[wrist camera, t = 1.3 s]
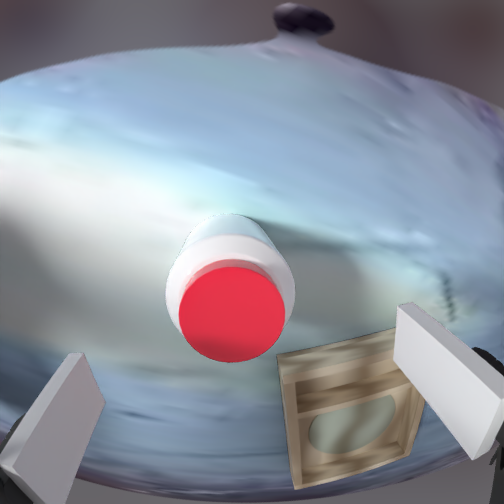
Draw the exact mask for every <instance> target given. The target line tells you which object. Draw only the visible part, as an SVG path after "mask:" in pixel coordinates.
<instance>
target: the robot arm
mask: <svg viewBox="0 0 504 504" xmlns="http://www.w3.org/2000/svg"><path fill="white" fill-rule="evenodd" d="M393 361H394V362H395V363H396V364H397V365H398V367H399V368H400V369H401V370H402V372H403V373H404V374H405V375H406V376H407V378H408V379H409V380H410V381H411V383H412V384H413V385H414V386H415V388H416V389H417V390H418V391H419V393H420V394H421V395H422V396H423V398H424V399H425V400H426V401H427V403H428V404H429V405H430V406H431V408H432V409H433V410H434V411H435V413H436V414H437V415H438V416H439V418H440V419H441V420H442V422H443V423H444V424H445V425H446V427H447V428H448V429H449V431H450V432H451V433H452V434H453V436H454V437H455V438H456V440H457V441H458V442H459V444H460V445H461V446H462V448H463V449H464V450H465V451H466V453H467V454H468V455H469V457H470V458H471V459H472V460H474V459H476V458H478V457H479V456H481V455H483V454H484V453H486V452H488V451H489V450H490V448H491V446H492V444H493V442H494V440H495V439H496V440H497V441H498V442H499V443H500V445H499V447H498V448H497V450H496V452H495V454H494V456H493V458H492V459H491V461H490V464H489V465H492V464H493V462H494V460H495V459H496V466H495V474H494V481H493V487H492V493H491V498H490V503H489V504H504V366H503V364H502V363H501V362H500V361H498V360H496V358H495V357H493V356H492V355H491V354H490V353H489V352H487V351H485V350H482V349H480V348H477V347H474V348H472V349H471V348H470V347H468V346H467V345H466V344H465V343H464V342H462V341H461V340H460V339H459V338H457V337H456V336H455V335H454V334H452V333H451V332H450V331H449V330H447V329H446V328H445V327H444V326H442V325H441V324H440V323H439V322H437V321H436V320H435V319H434V318H432V317H431V316H430V315H429V314H427V313H426V312H425V311H423V310H422V309H421V308H420V307H418V306H417V305H416V304H414V303H413V302H410V303H406V304H402V305H398V306H397V319H396V333H395V345H394V356H393ZM105 403H106V402H105V400H104V398H103V396H102V394H101V392H100V389H99V387H98V385H97V383H96V381H95V378H94V376H93V374H92V372H91V369H90V367H89V365H88V362H87V360H86V357H85V355H84V353H69V354H68V356H67V357H66V358H65V360H64V361H63V362H62V364H61V365H60V366H59V368H58V369H57V370H56V372H55V373H54V375H53V376H52V377H51V379H50V380H49V382H48V383H47V384H46V386H45V387H44V389H43V390H42V391H41V393H40V394H39V396H38V397H37V399H36V400H35V402H34V403H33V404H32V406H31V407H30V409H29V410H28V412H27V413H26V414H24V415H23V416H21V417H20V418H19V419H18V420H17V421H16V422H15V423H14V425H13V426H12V428H11V429H10V432H8V434H7V435H6V439H4V440H3V442H2V443H1V445H0V504H33V503H34V504H65V502H66V499H67V496H68V493H69V491H70V488H71V486H72V483H73V480H74V478H75V475H76V472H77V470H78V467H79V465H80V462H81V460H82V457H83V455H84V452H85V450H86V447H87V445H88V442H89V440H90V438H91V435H92V433H93V431H94V428H95V426H96V423H97V421H98V419H99V417H100V414H101V412H102V410H103V407H104V405H105Z"/></svg>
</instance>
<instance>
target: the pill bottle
mask: <svg viewBox="0 0 504 504" xmlns="http://www.w3.org/2000/svg"><path fill="white" fill-rule="evenodd" d="M165 297H166V306H167V309H168V312H169V315H170V318H171V319H172V321H173V323H174V325H175V327H176V328H177V329H178V330H179V331H180V333H181V334H182V335H183V336H184V337H185V338H186V340H187V342H188V343H189V344H190V345H191V346H192V347H193V348H194V349H195V350H196V351H198V352H199V353H200V354H202V355H204V356H206V357H208V358H210V359H213V360H216V361H221V362H228V363H230V362H242V361H247V360H250V359H253V358H255V357H258V356H259V355H261V354H263V353H264V352H266V351H267V350H268V349H269V348H270V347H271V346H273V344H274V343H275V342H276V340H277V339H278V338H279V336H280V334H281V332H282V330H283V328H284V327H285V326H286V324H287V322H288V320H289V318H290V316H291V314H292V311H293V307H294V304H295V284H294V278H293V275H292V273H291V270H290V268H289V266H288V264H287V263H286V261H285V260H284V258H283V257H282V255H281V254H280V252H279V251H278V249H277V248H276V246H275V245H274V244H273V242H272V241H271V239H270V238H269V236H268V235H267V234H266V232H265V231H264V230H263V229H262V228H261V227H260V226H259V225H258V224H257V223H255V222H254V221H252V220H251V219H249V218H246V217H244V216H241V215H236V214H220V215H215V216H212V217H210V218H207V219H205V220H204V221H202V222H201V223H199V224H198V225H197V226H196V227H195V228H194V229H193V230H192V231H191V232H190V234H189V235H188V237H187V239H186V240H185V242H184V244H183V246H182V248H181V250H180V252H179V254H178V256H177V258H176V260H175V261H174V263H173V265H172V267H171V270H170V273H169V275H168V278H167V282H166V290H165Z"/></svg>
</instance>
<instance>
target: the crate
mask: <svg viewBox="0 0 504 504" xmlns="http://www.w3.org/2000/svg"><path fill="white" fill-rule="evenodd" d="M395 333H396V328H392V329H388V330H385V331H381V332H377V333H373V334H370V335H366V336H362V337H358V338H354V339H349V340H345V341H341V342H337V343H332V344H328V345H323V346H319V347H314V348H309V349H304V350H299V351H294V352H289V353H283V354H278V355H277V363H278V371H279V379H280V387H281V396H282V404H283V413H284V421H285V430H286V438H287V447H288V456H289V465H290V472H291V476H292V480H293V484H294V488H295V490H296V489H301V488H306V487H310V486H315V485H319V484H323V483H327V482H331V481H335V480H338V479H342V478H345V477H349V476H352V475H356V474H359V473H362V472H365V471H368V470H371V469H374V468H377V467H380V466H383V465H386V464H388V463H391V462H394V461H396V460H399V459H401V458H404V457H406V456H409V455H410V452H411V449H412V446H413V443H414V440H415V436H416V433H417V430H418V426H419V423H420V419H421V416H422V412H423V408H424V404H425V399H424V398H423V396H422V395H421V394H420V393H419V391H418V390H417V389H416V388H415V386H414V385H413V384H412V383H411V381H410V380H409V379H408V378H407V376H406V375H405V374H404V373H403V372H402V370H401V369H400V368H399V367H398V365H397V364H396V363H395V362H394V361H393V356H394V345H395Z"/></svg>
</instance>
